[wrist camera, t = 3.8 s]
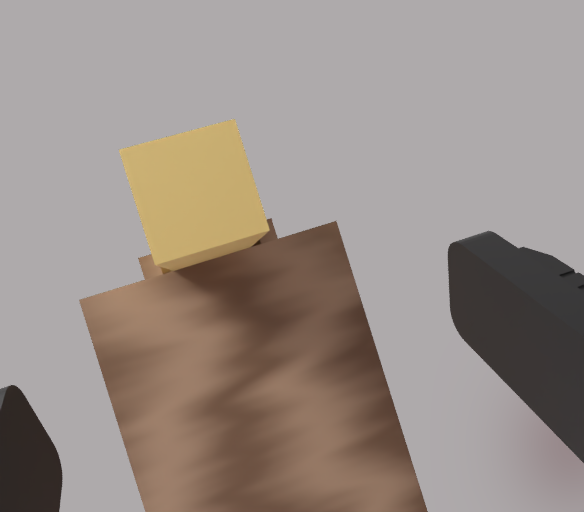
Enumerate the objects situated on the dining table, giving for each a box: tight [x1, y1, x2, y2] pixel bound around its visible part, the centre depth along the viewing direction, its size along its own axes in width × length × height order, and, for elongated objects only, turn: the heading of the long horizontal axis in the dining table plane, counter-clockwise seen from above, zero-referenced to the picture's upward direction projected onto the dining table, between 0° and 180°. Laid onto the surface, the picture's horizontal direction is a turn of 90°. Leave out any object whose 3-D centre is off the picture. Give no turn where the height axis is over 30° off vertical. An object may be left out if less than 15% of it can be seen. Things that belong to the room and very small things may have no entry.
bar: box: [119, 119, 270, 271], centre depth 26 cm, size 4×20×4 cm, turn 9°
